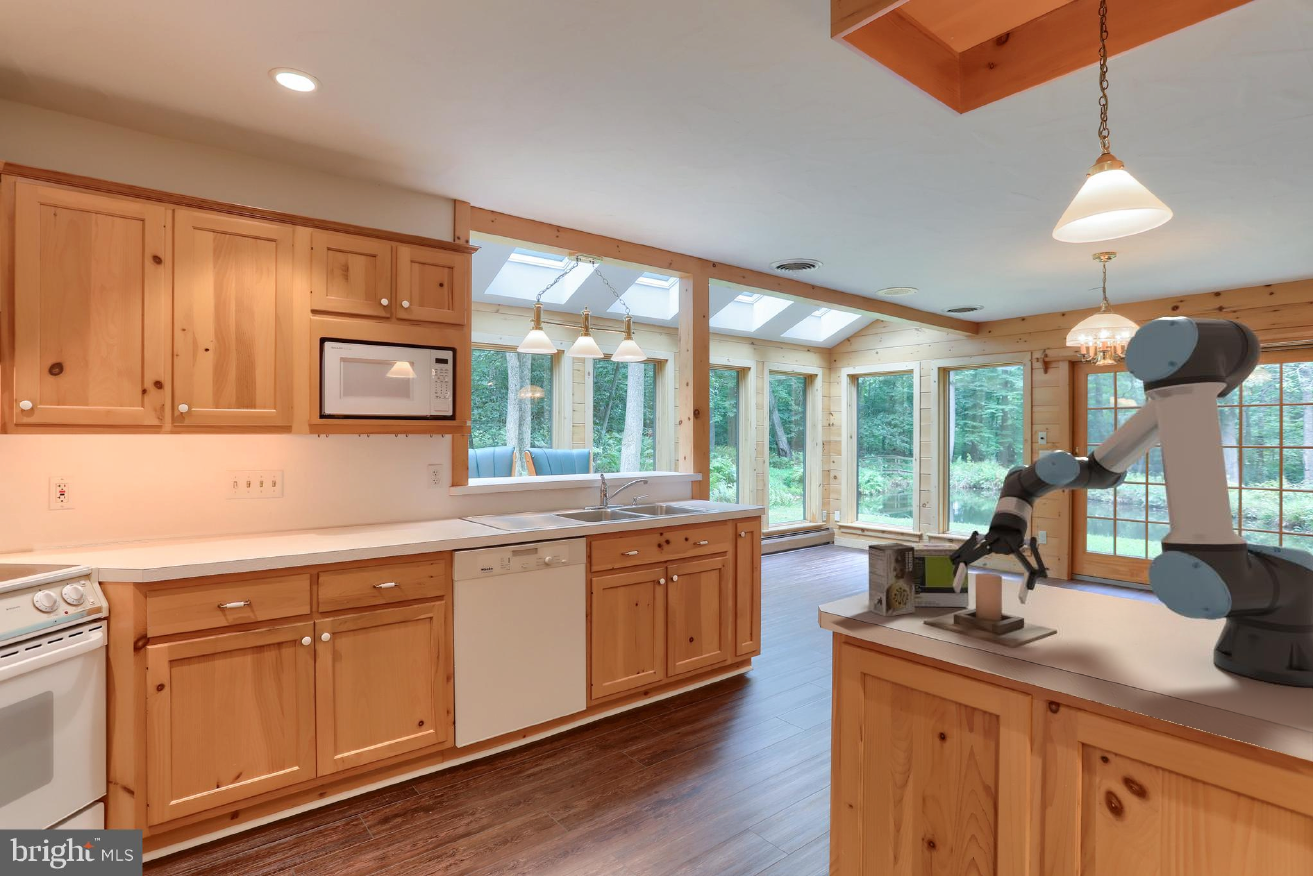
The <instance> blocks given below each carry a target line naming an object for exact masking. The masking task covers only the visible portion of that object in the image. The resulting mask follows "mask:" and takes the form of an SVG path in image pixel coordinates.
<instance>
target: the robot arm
mask: <svg viewBox="0 0 1313 876" xmlns="http://www.w3.org/2000/svg"><path fill="white" fill-rule="evenodd" d="M1261 353H1262V346H1261V341H1260V340H1259V337H1258V335H1257V334H1256V333H1255V332H1254V330H1253V329H1251V327H1249V326H1248V325H1246V324H1244V323H1242V322H1239V321H1236V320H1232V319H1225V318H1222V319H1221V318H1217V319H1216V318H1215V319H1214V318H1197V317H1187V316H1175V317H1161V318H1156V319H1153V320H1151V321H1149V322H1146V323H1145V324H1143V325H1142V326H1141V327H1139V328H1138V329H1137V330H1136V331H1135V333H1134V335H1133V336H1132V337H1130V339H1129V341H1128V342H1127V345H1126V347H1125V351H1124V364H1125V367H1126V370H1127V371H1128V373H1130V374H1131V375H1132V377H1134V378H1135V379H1137V380H1139V381H1141V382H1142V385H1143V394H1144V396H1145V397H1147V398H1149V400H1148V401H1146V403H1144V405H1142V406H1141V407H1140V408H1139V409H1138V410H1137V411H1135V412H1134V413H1133V414H1132V415H1131V416H1130V417H1129V418H1127V419H1126V420H1125V422H1124V423H1122V424H1121V425H1120V426H1119V427H1118V428H1117V429H1115V430H1114V431H1113V432H1112V433H1111V434H1110V435H1109V436H1108V437H1107V438H1106V439H1105V440H1103V442H1101V443H1100V444H1099V445H1098V446H1097V447H1096V448H1095V449H1094V450H1092V451H1091V452H1089V454H1088V455H1087V456H1083V457H1082V456H1081V457H1080V456H1079V457H1077V456H1076V457H1075V456H1074V455H1072V454H1071V453H1070V452H1066V451H1065V450H1061V449H1057V450H1053V451H1051V452H1048V453H1047V454H1044V455H1043V456H1040V457H1039V459H1037V460H1036V461H1034V462H1032V463H1031V464H1030V465H1025V464H1021V465H1015V466H1013V467H1011V468H1009V470H1008V471H1007V473H1006V475H1005V477H1004V479H1003V484H1002V487H1001V490H1000V494H999V498H998V499H997V504H996V506H995V509H994V512H993V515H992V517H991V521H990V524H989V528H988V531H987V533H979V531H978V530H974V531H972V532H971V535H970V537H968V539H967V540H966V541H964V543H962V544H961V545H960V546H959V548H958V549H957V550H956V551H955V552H954V553H953V554H952V555H950V557H949V558H950V561H951V563H952V565H955V568H954V571H953V575H954V577H955V580H954V583H953V587H954V590H955V592H956V593H959V592H960V589H961V586H962V583H963V580H964V577H965V574H966V571H967V569H966V566H968V567H969V566H970V565H971V564H973V563H975V562H976V561H978V560H980V559H982V558H983V557H985V556H990V555H991V554H993V553H994V554H995V555H1005V556H1010V555H1014V557H1015V559H1017V560H1018V561H1019V563H1020V564H1021V566H1022V567H1023V568H1024V570H1025V571H1024V574H1023V577H1022V580H1021V585H1020V588H1019V592H1018V594H1017V597H1018V600H1019V602H1020V604H1021V605H1026V601H1027V597H1028V593H1029V591H1034V590H1035V587H1036V583H1037V580H1038V579H1039V578H1043V579H1047V578H1048V577H1049V576H1048V572H1047V569H1046V566H1045V563H1044V562H1043V560H1042V557H1041V554H1040V552H1039V551H1040V550H1039V548H1040V547H1039V545H1040V544H1039V542H1038V539H1037V537H1036V536H1031V537H1030V538H1026V533H1027V529H1028V526H1029V523H1030V520H1031V516H1032V512H1033V509H1034V506H1035V503H1036V501H1037V500H1039V499H1040V498H1042V497H1044V496H1046V495H1049V494H1050V493H1052V492H1054V491H1058V490H1107V489H1115V488H1118V487H1120V486H1121V485H1123V484H1124V483H1125V480H1126V477H1127V475H1128V470H1127V469H1129V468H1130V467H1132V466H1133V465H1134V464H1136V463H1137V462H1138V461H1139V460H1140V459H1141V458H1142V457H1144V456H1145V455H1147V453H1149V452H1150V451H1151V450H1153V449H1154V448H1155V447H1156V446H1157V445H1158V444H1159V443H1160V445H1159V446H1160V452H1161V453H1160V454H1161V463H1162V470H1163V471H1162V472H1163V479H1164V489H1165V494H1166V495H1165V496H1166V504H1167V512H1168V513H1167V515H1168V524H1169V532H1167V534H1165V536H1163V537H1162V538H1161V539H1160V543H1161V545H1160V546H1161V553H1160V554H1158V555H1157V556H1155V557H1154V558H1153V562H1151V563H1150V564H1149V567H1148V574H1147V575H1148V581H1149V584H1150V585H1149V586H1150V587H1151V590H1152V592H1153V593H1154V594H1155V597H1156V598H1157V599H1158V601H1160V602H1161V603H1162V604H1164V605H1165V606H1166V607H1167V609H1169V610H1170V611H1171V612H1173V613H1175V614H1177V615H1179V616H1181V617H1184V618H1189V619H1199V620H1209V621H1214V620H1215V621H1216V620H1219V619H1225V623H1224V625H1223V628H1222V630H1221V632H1220V634H1219V637H1218V639H1217V641H1216V643H1215V645H1214V647H1213V651H1212V652H1213V654H1212V655H1213V658H1212V659H1213V663H1214V664H1215V665H1216V666H1218V667H1220V668H1221V669H1223V670H1226V671H1229V672H1231V673H1234V674H1237V675H1239V676H1243V677H1247V678H1251V679H1255V680H1259V681H1264V682H1268V683H1274V684H1280V685H1286V686H1287V685H1288V686H1295V687H1306V688H1307V687H1308V688H1310V687H1311V688H1313V554H1312V552H1310V551H1308V550H1307V549H1306V550H1305V549H1301V548H1295V547H1288V546H1287V547H1286V546H1281V545H1273V544H1267V543H1260V542H1251V541H1247V540H1246V539H1245V538H1243V537H1241V536H1240V535H1239V534H1237V533H1236V532H1235V531H1234V525H1233V518H1232V509H1231V503H1230V495H1229V486H1228V479H1227V470H1226V461H1225V453H1224V447H1223V446H1224V445H1223V440H1222V431H1221V430H1222V429H1221V423H1220V415H1219V406H1218V399H1224V398H1226V397H1227V396H1228V395H1230V394H1231V393H1232V392H1233V391H1235V390H1236V389H1237V388H1239V386H1240V385H1242V384H1244V382H1245V381H1246V380H1247V379H1248V378H1249V376H1251V374H1252V373H1253V372H1254V370H1255V369H1256V368H1257V366H1258V364H1259V362H1260V359H1261V355H1262V354H1261ZM982 541H983V542H982ZM979 544H980V545H979ZM978 545H979V546H978ZM1024 546H1027V548H1028V550H1031V553H1032V555H1033V557H1034V561H1035V563H1036V565H1037V566H1036V567H1037V568H1036V567H1034V566H1033V564H1032V563H1031V562H1030V561H1029V560H1028V558H1027V557H1026V556H1025V555H1024V553H1023V552H1022V551H1021V548H1023V547H1024Z"/></svg>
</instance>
